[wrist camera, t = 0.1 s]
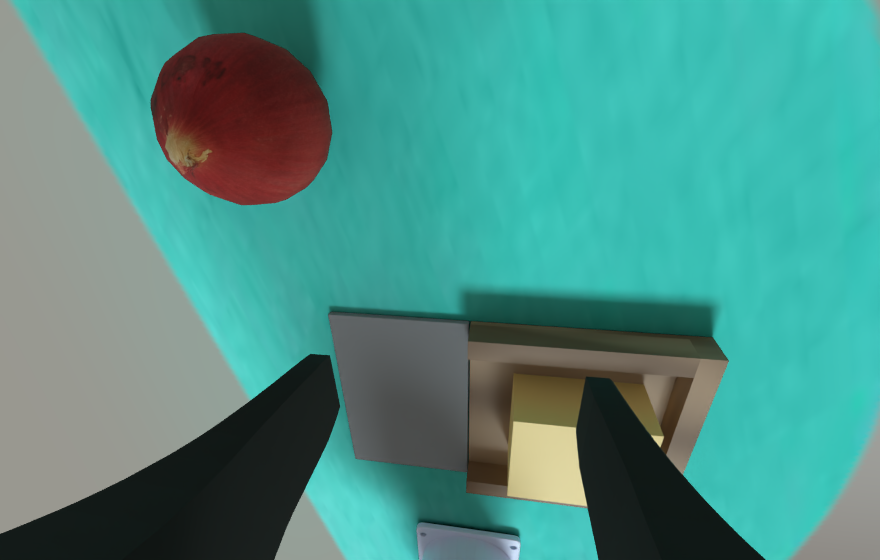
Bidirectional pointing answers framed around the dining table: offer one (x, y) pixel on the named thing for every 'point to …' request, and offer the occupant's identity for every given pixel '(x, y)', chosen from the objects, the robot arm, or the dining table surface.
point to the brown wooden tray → (576, 356)
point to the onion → (241, 119)
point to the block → (556, 435)
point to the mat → (405, 388)
